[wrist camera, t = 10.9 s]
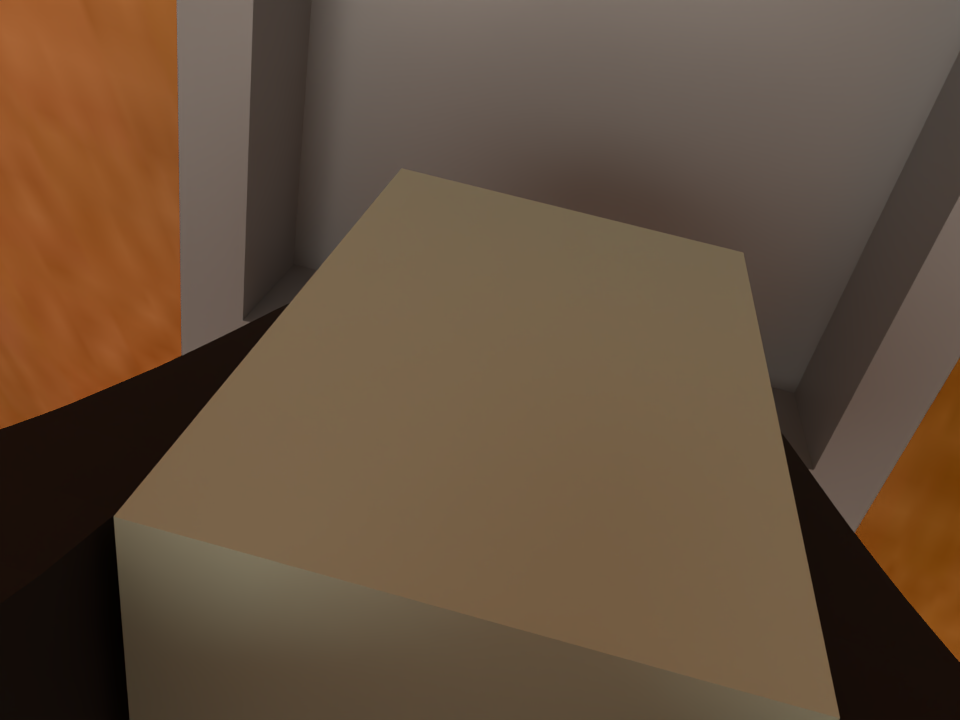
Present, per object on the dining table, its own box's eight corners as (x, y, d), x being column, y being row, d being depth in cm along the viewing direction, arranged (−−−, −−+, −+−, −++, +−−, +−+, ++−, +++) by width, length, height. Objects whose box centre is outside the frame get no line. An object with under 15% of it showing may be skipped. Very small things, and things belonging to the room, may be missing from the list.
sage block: (641, 510, 12) (626, 1022, 6) (364, 436, 12) (140, 874, 7) (743, 252, 9) (840, 716, 4) (401, 168, 10) (113, 517, 5)
